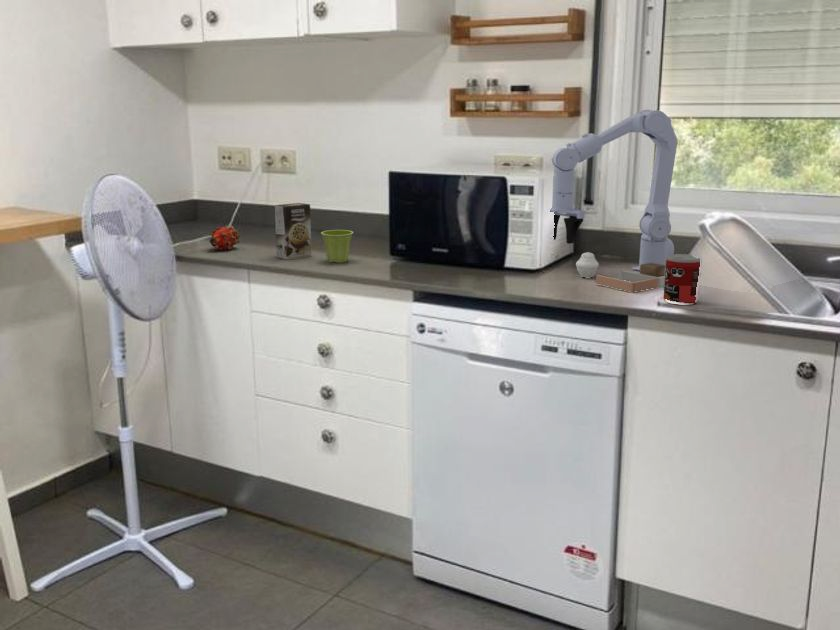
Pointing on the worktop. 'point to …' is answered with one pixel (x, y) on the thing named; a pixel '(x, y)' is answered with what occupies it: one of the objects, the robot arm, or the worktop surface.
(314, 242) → the worktop surface
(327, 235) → the plant pot
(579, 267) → the muffin
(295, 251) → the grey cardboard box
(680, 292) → the canned food
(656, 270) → the walnut block
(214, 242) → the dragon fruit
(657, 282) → the tray
